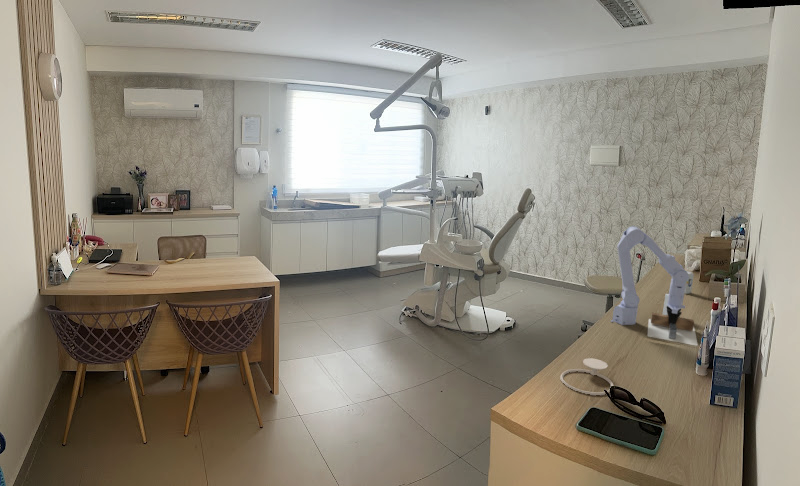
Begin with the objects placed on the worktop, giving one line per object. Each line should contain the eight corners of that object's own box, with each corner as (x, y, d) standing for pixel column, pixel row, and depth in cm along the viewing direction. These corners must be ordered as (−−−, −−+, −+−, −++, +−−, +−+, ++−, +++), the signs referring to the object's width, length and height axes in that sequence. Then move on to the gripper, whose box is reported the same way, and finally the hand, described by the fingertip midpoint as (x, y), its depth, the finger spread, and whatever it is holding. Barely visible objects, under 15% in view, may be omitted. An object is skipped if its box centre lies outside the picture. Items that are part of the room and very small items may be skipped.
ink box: (691, 293, 263) (694, 273, 261) (685, 294, 261) (688, 273, 259) (677, 289, 271) (680, 269, 269) (671, 290, 269) (674, 269, 267)
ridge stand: (697, 348, 189) (699, 336, 188) (647, 338, 198) (648, 327, 197) (693, 328, 210) (695, 318, 209) (648, 320, 218) (649, 310, 217)
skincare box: (674, 318, 223) (678, 294, 220) (679, 321, 218) (683, 297, 216) (661, 317, 223) (665, 293, 221) (665, 320, 219) (669, 296, 217)
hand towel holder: (553, 372, 156) (574, 352, 172) (552, 384, 157) (573, 363, 173) (606, 389, 146) (624, 366, 161) (605, 402, 147) (623, 378, 162)
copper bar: (650, 323, 211) (652, 314, 210) (651, 321, 213) (652, 312, 212) (692, 330, 203) (694, 321, 202) (692, 328, 206) (693, 319, 205)
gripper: (687, 301, 197) (682, 331, 200) (686, 292, 210) (681, 321, 212) (668, 298, 200) (663, 328, 203) (668, 289, 213) (663, 318, 216)
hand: (671, 324), depth 208 cm, fingers closed on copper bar, 3 cm apart
